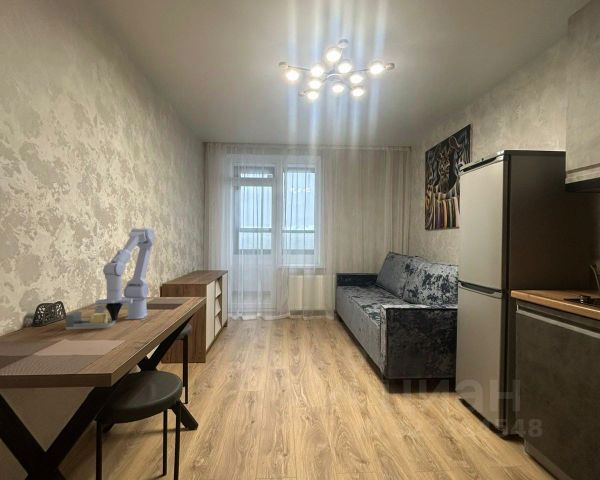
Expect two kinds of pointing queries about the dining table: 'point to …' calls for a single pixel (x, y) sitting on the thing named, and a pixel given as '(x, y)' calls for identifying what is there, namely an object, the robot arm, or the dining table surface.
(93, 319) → the block
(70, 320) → the anvil
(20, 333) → the dining table surface
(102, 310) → the lighter
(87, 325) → the grey flat tray
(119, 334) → the dining table surface
